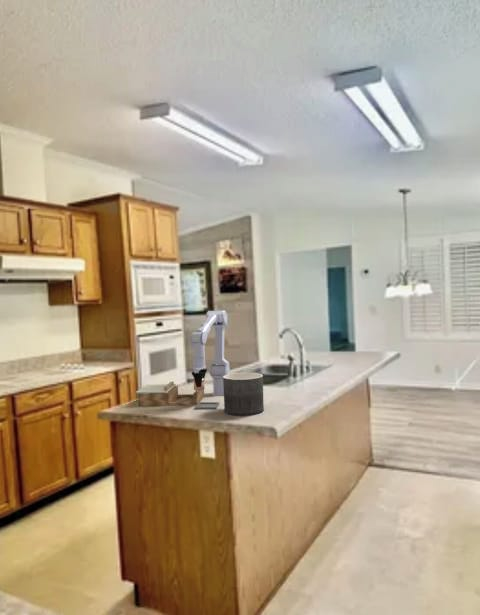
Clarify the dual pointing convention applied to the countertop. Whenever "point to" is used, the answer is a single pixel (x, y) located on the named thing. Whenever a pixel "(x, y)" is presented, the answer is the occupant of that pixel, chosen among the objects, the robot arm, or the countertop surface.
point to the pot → (199, 387)
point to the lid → (157, 388)
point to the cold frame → (170, 398)
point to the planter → (243, 393)
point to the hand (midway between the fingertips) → (200, 385)
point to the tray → (207, 405)
